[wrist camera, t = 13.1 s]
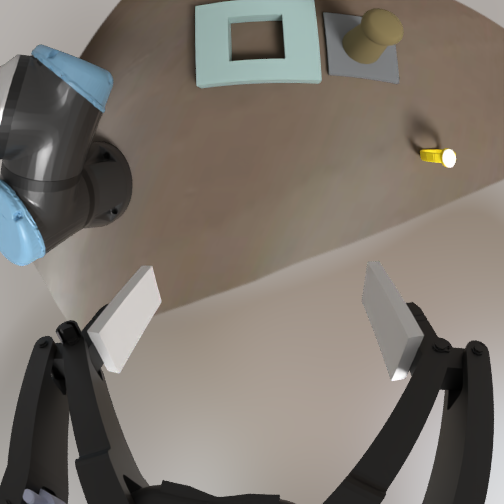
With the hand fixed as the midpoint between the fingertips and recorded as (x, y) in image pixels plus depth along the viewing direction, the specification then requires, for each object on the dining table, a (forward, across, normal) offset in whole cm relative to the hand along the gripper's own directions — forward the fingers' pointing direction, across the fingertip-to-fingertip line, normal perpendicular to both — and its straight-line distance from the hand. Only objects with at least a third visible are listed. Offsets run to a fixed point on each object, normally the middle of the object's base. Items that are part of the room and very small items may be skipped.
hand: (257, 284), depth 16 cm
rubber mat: (+26, -15, -23) cm, 38 cm away
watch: (+27, -26, -6) cm, 38 cm away
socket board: (+27, 0, -23) cm, 35 cm away
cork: (+26, -15, -23) cm, 38 cm away
